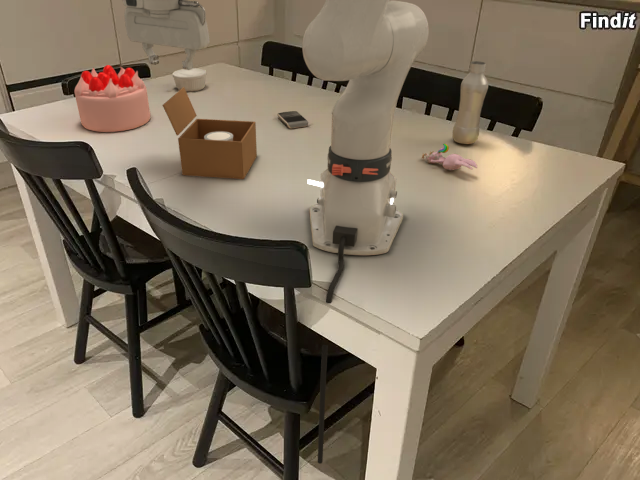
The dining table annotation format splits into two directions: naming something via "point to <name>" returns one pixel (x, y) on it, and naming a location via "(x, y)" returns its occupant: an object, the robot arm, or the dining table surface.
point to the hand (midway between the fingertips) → (170, 66)
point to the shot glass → (219, 136)
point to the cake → (112, 100)
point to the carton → (218, 149)
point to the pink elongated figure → (449, 159)
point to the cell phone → (292, 119)
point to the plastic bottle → (471, 104)
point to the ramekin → (190, 79)
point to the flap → (179, 111)
